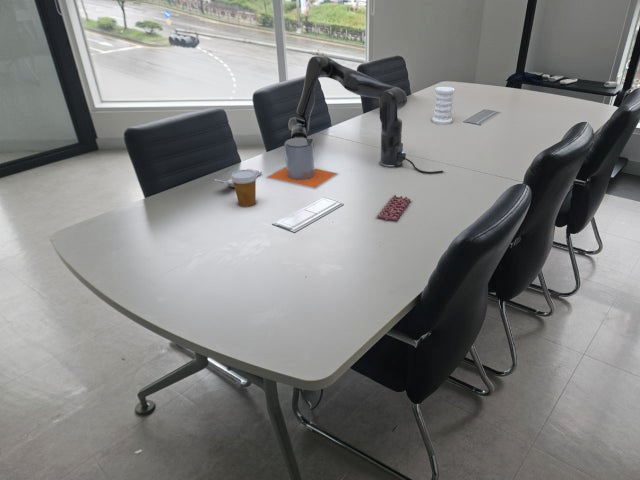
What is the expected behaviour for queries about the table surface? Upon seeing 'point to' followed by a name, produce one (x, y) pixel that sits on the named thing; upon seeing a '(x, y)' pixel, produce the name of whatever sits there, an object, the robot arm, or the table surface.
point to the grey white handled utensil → (232, 181)
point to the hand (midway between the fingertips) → (299, 148)
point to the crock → (299, 158)
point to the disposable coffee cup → (245, 186)
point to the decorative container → (443, 105)
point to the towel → (312, 182)
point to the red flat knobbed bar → (394, 208)
